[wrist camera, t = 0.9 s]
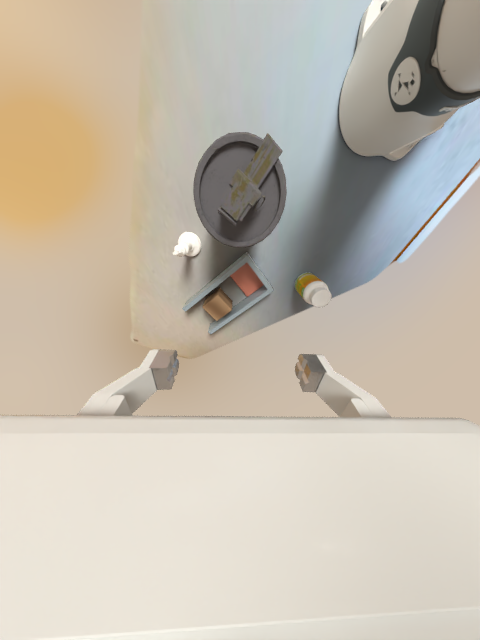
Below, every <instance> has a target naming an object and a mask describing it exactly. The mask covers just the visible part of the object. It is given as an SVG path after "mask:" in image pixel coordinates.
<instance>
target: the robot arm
mask: <svg viewBox="0 0 480 640" xmlns="http://www.w3.org/2000/svg"><path fill="white" fill-rule="evenodd" d="M381 7H383V10H382V11H381V10H380V9H381ZM478 98H480V0H373V1H372V2H371V4H370V5H369V6H368V7H367V9H366V10H365V12H364V14H363V17H362V20H361V24H360V29H359V35H358V41H357V48H356V51H355V54H354V57H353V59H352V62H351V64H350V66H349V69H348V71H347V74H346V77H345V80H344V84H343V87H342V92H341V97H340V106H339V120H340V128H341V132H342V135H343V138H344V140H345V142H346V144H347V145H348V146H349V148H350V149H351V150H353V151H354V152H355V153H357V154H359V155H362V156H384V157H386V158H387V159H389V160H392V161H396V160H398V159H400V158H402V157H404V156H405V155H406V154H407V153H408V152H409V151H410V150H411V149H412V148H413V147H414V146H415V145H416V144H417V143H418V142H419V141H420V140H421V139H422V138H424V137H426V136H428V135H430V134H432V133H434V132H436V131H437V130H439V129H440V128H442V127H443V125H444V123H445V122H446V121H447V120H448V119H449V118H450V117H451V116H452V115H453V114H454V113H455V112H456V111H457V110H458V109H459V108H461V107H463V106H465V105H467V104H469V103H471V102H473V101H475V100H477V99H478ZM298 360H299V362H297V363H296V366H295V372H296V376H297V378H298V379H300V386H301V388H302V391H303V392H316V394H317V395H318V396H319V397H320V398H321V399H322V400H324V402H326V404H327V405H329V407H330V408H331V409H332V410H333V411H334V412H335V413H337V415H339V417H234V416H232V417H231V416H226V417H225V416H132V413H133V412H134V411H135V410H137V409H138V408H139V407H140V406H141V405H142V404H143V403H144V402H145V401H146V400H147V399H148V398H149V397H150V396H151V395H153V394H154V393H155V391H157V390H161V389H162V390H163V389H172V386H173V383H174V376H176V375H177V372H178V368H179V361H178V359H177V351H176V350H161V349H160V350H158V349H152V350H150V352H149V353H148V355H147V356H146V358H145V359H144V361H143V362H142V364H141V365H140V367H139V368H135V369H134V370H132V371H131V372H129V373H127V374H126V375H124V376H122V377H121V378H119V379H118V380H116V381H114V382H112V383H111V384H109V385H107V386H106V387H104V388H102V389H101V390H99V391H98V392H96V393H94V394H93V395H92V397H91V398H90V399H89V400H88V402H87V403H86V404H85V405H84V407H83V408H82V409H81V410H80V411H79V413H78V414H77V415H0V640H480V426H479V425H477V424H475V423H473V422H471V421H469V420H466V419H461V418H392V417H391V416H390V415H389V414H388V412H387V411H386V410H385V409H384V408H383V406H382V405H381V404H380V402H379V401H378V400H377V399H376V398H375V397H373V396H372V395H370V394H369V393H367V392H366V391H364V390H363V389H361V388H360V387H358V386H357V385H355V384H354V383H352V382H351V381H349V380H348V379H346V378H345V377H343V376H341V375H340V374H338V373H335V372H334V370H333V369H332V367H331V366H330V364H329V363H328V361H327V360H326V358H325V357H324V356H323V355H311V354H310V355H309V354H300V355H299V357H298Z"/></svg>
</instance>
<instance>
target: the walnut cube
mask: <svg viewBox="0 0 480 640" xmlns="http://www.w3.org/2000/svg"><path fill="white" fill-rule="evenodd" d="M203 308H204V309H205V310H206V311H207V312H208V313H209V314H210V315H211V316H212V317H213V318H214V319H215V320H216V321H218V320H219V319H220V318H222V317H223V316H224V315H226V314H227V313H229V312H230V311H231V310H232V300H231V299H230V298H229V297H228V296H227V295H226V294H225V293H224V291H223V290H222V289H221V288H220V287H219V288H218V289H217V290H216V291H214V292H213V293H212V294H211V295H209V296H208V297H207V298H206V299H205V301H204V304H203Z"/></svg>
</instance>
